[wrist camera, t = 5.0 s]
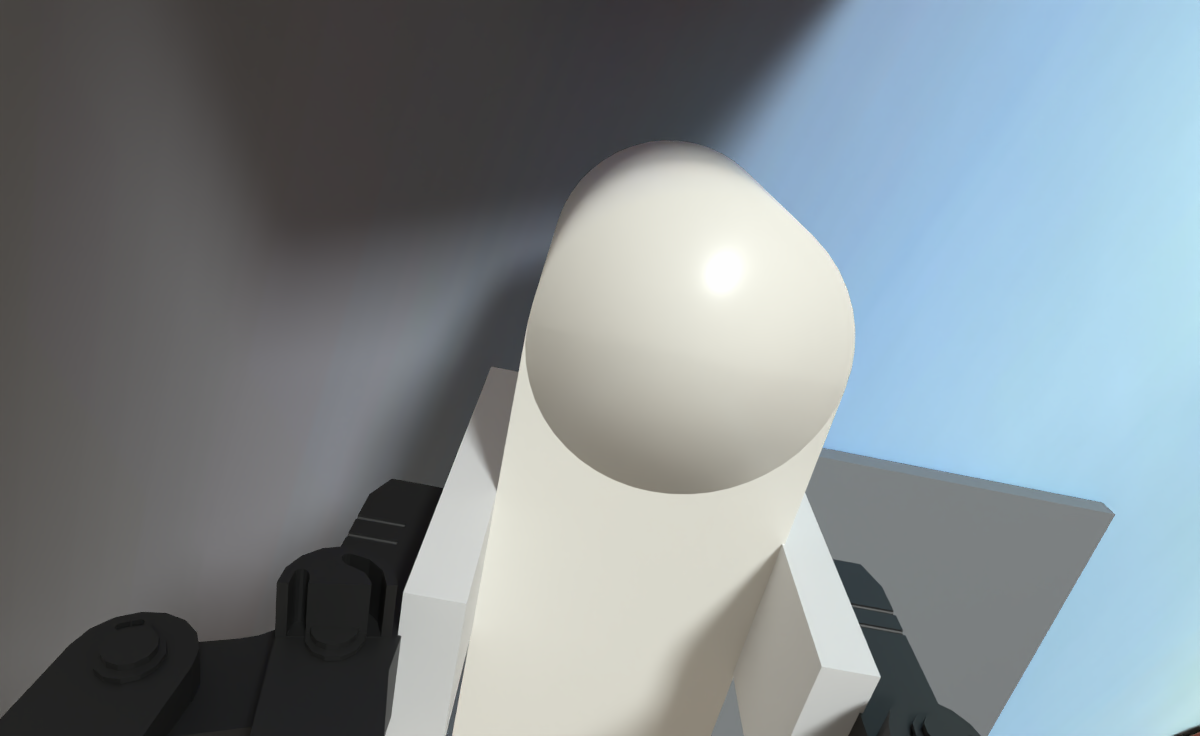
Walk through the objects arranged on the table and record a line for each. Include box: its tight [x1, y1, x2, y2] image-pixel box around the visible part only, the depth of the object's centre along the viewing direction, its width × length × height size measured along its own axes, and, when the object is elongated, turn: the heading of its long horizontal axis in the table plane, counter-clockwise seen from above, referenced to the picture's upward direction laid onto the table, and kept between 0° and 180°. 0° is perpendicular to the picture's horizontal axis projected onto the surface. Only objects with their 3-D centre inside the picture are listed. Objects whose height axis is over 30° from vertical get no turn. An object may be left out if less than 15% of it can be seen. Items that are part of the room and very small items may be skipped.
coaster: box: [711, 448, 1115, 736], centre depth 23 cm, size 12×12×1 cm
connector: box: [452, 140, 855, 736], centre depth 14 cm, size 13×4×5 cm, turn 168°
